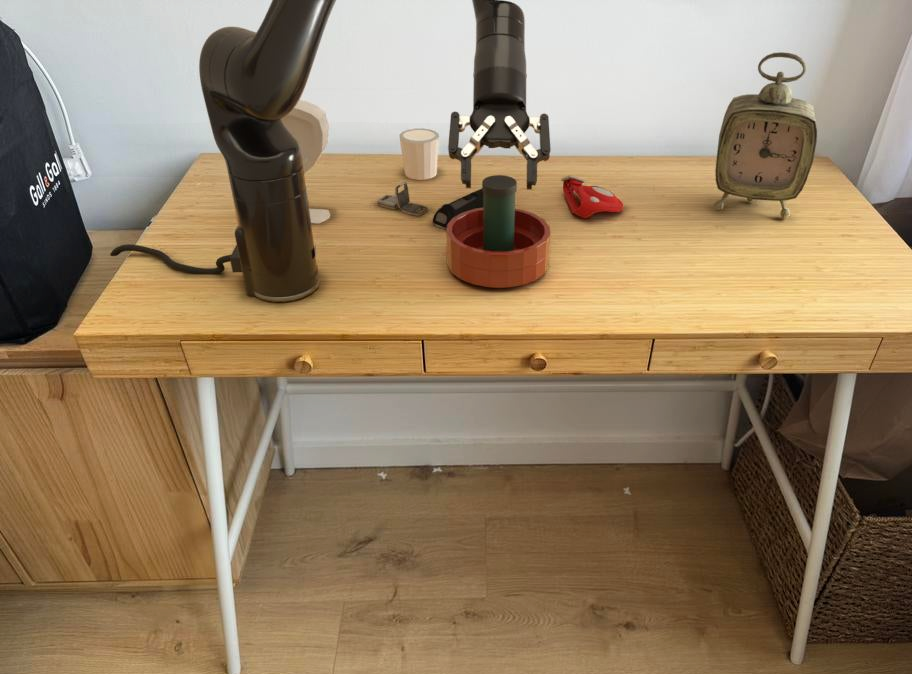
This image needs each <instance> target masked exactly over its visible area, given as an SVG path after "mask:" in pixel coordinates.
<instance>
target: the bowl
mask: <svg viewBox="0 0 912 674" xmlns="http://www.w3.org/2000/svg"><path fill="white" fill-rule="evenodd" d="M445 233H446V234H445V236H446V237H445V238H446V264H447V267H448V269H449V271H450V273H451V274H452V275H454V276H456V277H457V278H458V279H459V280H461V281H464V282H466V283H469V284H472V285H475V286H480V287H486V288H497V289H502V288H512V287H519V286H523V285H527V284H528V283H529V284H530V283H532V282H535V281H537V280H538V279H539V278H541V277H542V276H543V275H545V274H546V271H547V270H548V268H549V267H550V250H551V249H550V247H551V227H550V225H549V224H548V223H547V221H546V220H545V219H544V218H542V217H540V216H539V215H537V214H535V213H534V212H530V211H528V210H524V209H522V208H516V207H515V225H514V251H507V252H495V251H486V250H483V208H476V209H473V210H469V211H466V212H463V213H461V214H459V215H457V216H456V217H454V218H452V220H451V221H450V222H449V223H448V224H447V228H446V232H445Z"/></svg>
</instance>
